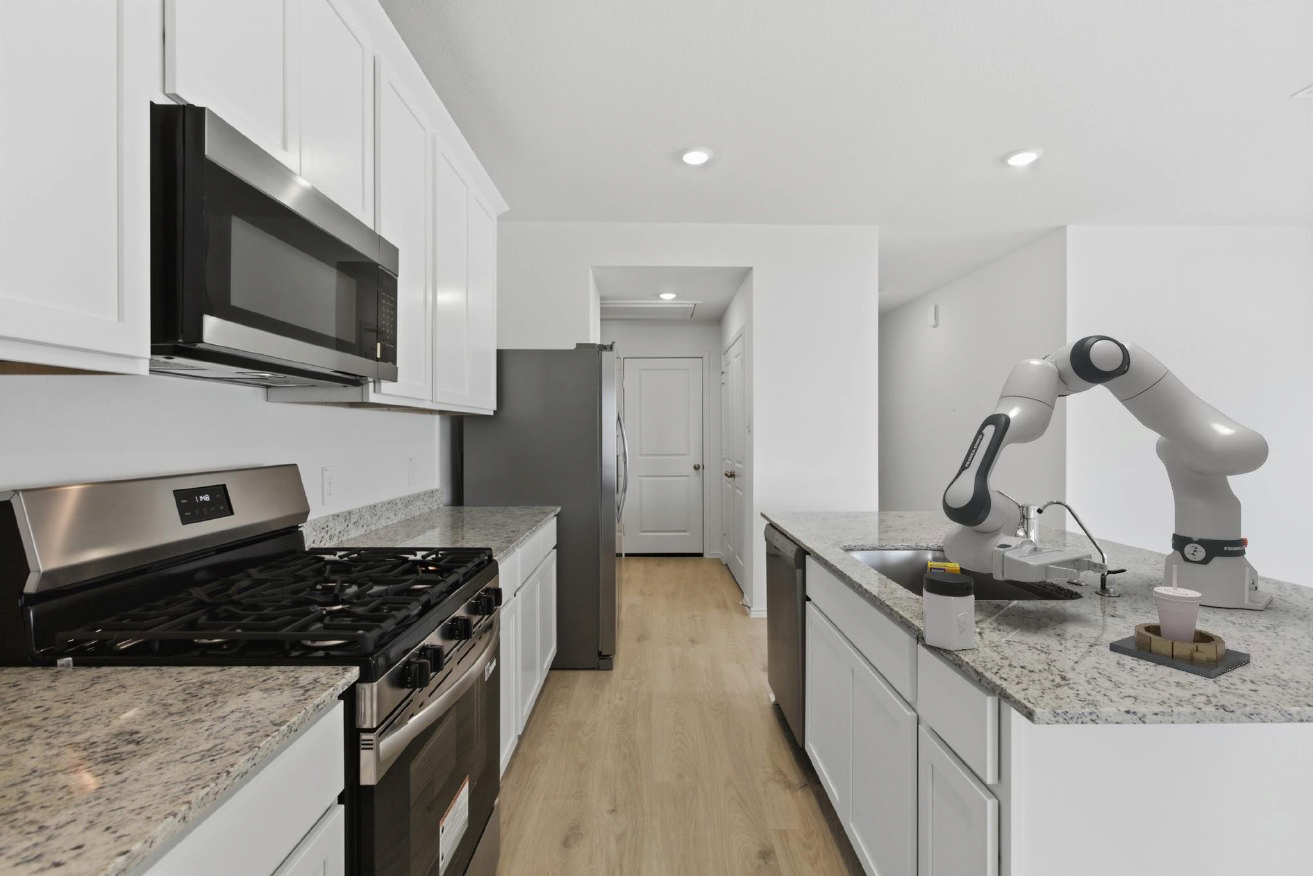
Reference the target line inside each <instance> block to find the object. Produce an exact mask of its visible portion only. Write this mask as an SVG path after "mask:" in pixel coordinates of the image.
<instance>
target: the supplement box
mask: <svg viewBox="0 0 1313 876" xmlns="http://www.w3.org/2000/svg"><path fill="white" fill-rule="evenodd" d="M926 563H927V564H926V565H927V572H926V573H928V572H953V573H960V574H961V569H960V568H961V567H959V565H958V563H952V562H943V561H932V560H927V562H926Z"/></svg>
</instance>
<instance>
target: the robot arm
mask: <svg viewBox="0 0 1313 876" xmlns="http://www.w3.org/2000/svg"><path fill="white" fill-rule="evenodd" d="M1099 385H1101V386H1103V387H1104V388H1106V389H1107V390H1108V391H1109V392H1110V393H1111V394H1112V396H1114V397H1115V398H1116V400H1118V402H1119V403H1120V404H1121V405H1122V406H1124V408H1125V409H1127V410H1128V411H1129V413H1130V414H1131V415H1133V417H1135V418H1136V420H1137V421H1138V422H1139V423H1140V424H1142V426H1143V427H1145V428H1147V429H1149V430H1150V431H1153V432H1155V433H1157V434H1158V435H1159V438H1158V439H1157V440H1156V443H1155V453H1156V455H1157V457H1158V459H1159V460H1160V461H1161V463H1163V465H1164V467H1165V469H1166V472H1167V475H1168V479H1169V483H1170V485H1171V486H1170V487H1171V490H1172V495H1173V499H1174V500H1173V503H1174V532H1173V533H1172V537H1171V548H1172V549H1173V550H1172V552H1171V553H1169V554H1167V555H1166V556H1164V564H1163V577H1162V584H1156V586H1155V588H1156V587H1173V565H1177V588H1183V589H1188V590H1193V591H1196V592H1199V593H1201V594H1202V601H1201V602H1200V603H1199V605H1202V606H1209V607H1217V608H1219V607H1220V608H1230V609H1248V610H1258V611H1261V610H1262V611H1263V610H1265V608H1266V607H1267V606H1268V605H1269V603H1270V602H1271V601H1272V600H1273V595H1272V593H1271V592H1270V593H1269V592H1266V591H1262V590H1259V572H1258V571H1257V569H1256V568H1255V567H1254V566H1253V565H1252V564H1251V562H1250V561H1249V560H1248V559H1247V557H1246V556H1245V555H1246V554H1247V553H1246V548H1247V547H1248V544H1249V541H1248V538H1247V537H1242V504H1241V503H1242V502H1241V501H1240V499H1239V498H1238V496H1236V494H1234V492H1233V489H1232V488H1231V486H1230V483H1229V481H1228V477H1231V476H1240V475H1244V474H1248V473H1252V472H1254V471H1256V470H1258V469H1260V468H1261V467H1262V466H1263V465H1265V463H1266V461H1267V460H1268V457H1269V451H1270V449H1269V444H1268V442H1267V440H1266V439H1265V437H1264V436H1263V435H1262V434H1261V433H1259V432H1258V431H1256V430H1255V429H1251V428H1249V427H1247V426H1245V425H1243V424H1241V423H1239V422H1237V421H1235V420H1234V419H1232V418H1231V417H1229V416H1228V415H1227V414H1225V413H1223V412H1222V411H1221V410H1219V409H1217V408H1216V407H1214V406H1212V405H1211V404H1210V403H1208V402H1206V401H1205V400H1203V399H1202V398H1200V397H1199V396H1198V395H1196V394H1195V393H1194V392H1193V391H1191V389H1190V388H1189V387H1188V386H1187V385H1185V384H1184V383H1183V382H1182V381H1181V380H1180V379H1179V378H1178V377H1177V376H1176V375H1175V374H1174V373H1173V372H1172V371H1171V370H1170V369H1169V368H1168V367H1167V366H1165V365H1164V364H1163V363H1162V362H1161V361H1160V360H1159V359H1158V358H1156V357H1155V356H1154V355H1153V354H1151V353H1150V352H1149V351H1147V350H1146V349H1144V348H1143V347H1142V346H1140V345H1138V344H1137V343H1134V342H1132V341H1126V340H1125V341H1119V340H1117V339H1115V338H1113V337H1110V336H1107V335H1104V334H1103V335H1101V334H1098V335H1096V334H1095V335H1089V336H1086V337H1082V338H1080V339H1078V340H1077V341H1073V342H1071V343H1068V344H1065V345H1064V346H1061V347H1060V348H1058V349H1057V350H1056V351H1054V352H1052V353H1051V354H1048V355H1045V356H1044V357H1042V358H1034V357H1033V358H1026V359H1022V360H1020V361H1019V362H1017V363H1016V364H1015V365H1014V366H1013V368H1012V370H1011V371H1010V373H1009V374H1008V377H1007V378H1006V381H1005V383H1004V385H1003V387H1002V389H1001V392H1000V393H999V398H998V400H997V404H996V406H995V408H994V411H993V413H991V414H990V415H988V416H987V417H985V419H984V420H983V421H982V422H981V424H980V426H979V427H978V429H977V431H976V433H975V434H974V438H973V439H972V441H971V443H970V446H969V448H968V450H967V453H966V455H965V457H964V458H963V460H962V462H961V466H960V467H959V469H958V471H957V473H956V474H955V476H954V477H953V478H952V480H951V481H950V483H949V484H948V485H947V487H946V489H945V490H944V493H943V495H942V503H941V505H942V509H943V513H944V514H945V516H946V517H947V518H948V519H949V520H950V521H952V522H954V523H956V524H958V525H956V526H955V527H954V528H953V529H951V530H949V531H947V532H946V534H944V537H943V542H942V546H943V547H942V548H943V552H944V554H945V556H946V558H947V559H948V561H949V562H950V563H958V565H959V568H963V569H965V570H969V571H971V572H972V571H973V572H976V573H982V574H992V577H993V580H997V581H1018V582H1024V583H1025V582H1026V583H1036V582H1037V583H1038V582H1042V581H1047V580H1051V579H1065V580H1067V579H1068V580H1072V581H1075V580H1078V579H1080V578H1081V575H1080V574H1081V573H1084V572H1089V571H1090V572H1093V573H1097V574H1101V575H1102V574H1106V573H1108V565H1107V564H1106V563H1104V562H1099V561H1096V560H1094V559H1093V556H1092V553H1090V552H1088V551H1084V550H1075V549H1067V548H1057V547H1053V548H1046V549H1041V548H1040V547H1039V546H1038V545H1037V544H1036V542H1035V541H1034V540H1033V539H1030V538H1027V537H1026V538H1025V537H1019V536H1016V535H1017V533H1018V530H1019V527H1020V525H1021V522H1022V513H1021V509H1020V507H1019V506H1018V504H1017V503H1016V502H1015V501H1013V499H1010V498H1009V497H1007V496H1005V495H1004V494H1002V493H1000V492H998V491H996V490H994V489H992V488H991V485H990V480H991V479H990V478H991V476H992V473H993V471H994V469H995V466H996V465H997V464H998V463H997V462H998V460H999V458H1000V456H1001V454H1002V452H1003V450H1004V449H1005V448H1006V447H1007V446H1008V445H1011V444H1027V443H1030V442H1034V441H1036V440H1039V438H1042V437H1043V436H1044V435H1045V433H1046V431H1047V429H1048V428H1049V426H1050V423H1051V420H1052V417H1053V413H1054V411H1055V407H1056V402H1057V400H1058V398H1063V397H1064V398H1065V397H1067V396H1068V397H1069V396H1070V395H1074V394H1079V393H1082V392H1085V391H1089V390H1090V389H1092V388H1095V387H1096V386H1099Z"/></svg>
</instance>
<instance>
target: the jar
mask: <svg viewBox="0 0 1313 876" xmlns="http://www.w3.org/2000/svg"><path fill="white" fill-rule="evenodd" d="M974 584H975V583H974V579H973V577H971V576H970V575H967V574H964V573H961V572H960V573H953V572H928V573H927V572H925V573H924V574H923V587H922V590H923V591H922V621H923V622H922V623H923V624H922V637H923V639H924V642H925V644H926V645H928V646H930V647H935V648H939V649H943V650H947V651H951V652H953V651H954V652H955V650H956V651H963V650H962V649H966V650H972V649H973V650H974V649H975V602H976V601H975V595H974V589H975V585H974Z"/></svg>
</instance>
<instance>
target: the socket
mask: <svg viewBox="0 0 1313 876" xmlns="http://www.w3.org/2000/svg"><path fill="white" fill-rule="evenodd" d="M1108 647H1109V649H1108V650H1109V651H1113V652H1116V653H1120V654H1123V655H1126V656H1130V657H1134V658H1138V659H1140V660H1144V661H1146V662H1147V661H1148V662H1152V663H1155V664H1159V665H1162V666H1165V665H1167V666H1166V667H1169V668H1172V667H1173V668H1172V669H1177V670H1179V669H1180V671H1183V670H1184V671H1183V672H1187V673H1190V672H1192V673H1191V674H1194V673H1196V674H1195V675H1197V674H1201V675H1204V676H1208V677H1211V678H1210V679H1213V678H1214V677H1213V676H1216V677H1218V676H1219V675H1218V674H1220V675H1222V674H1221V673H1222V672H1225V671H1227V670H1229V669H1232V668H1234V667H1237V666H1239V665H1241V664H1243V663H1246V662H1248V661H1250V662H1251V654H1250V653H1247V652H1242V651H1238V650H1233V649H1229V648H1226V641H1225V640H1224V639H1223V638H1222V637H1221V636H1218V635H1217V634H1213V633H1211V632H1209V631H1206V630H1202V629H1197V628H1195V633H1194V639H1193V643H1189V642H1182V641H1174V640H1170V639H1166V638H1162V636H1161V629H1160V623H1159V622H1144V623H1143V622H1142V623H1139V624H1135V625H1134V634H1133V635H1130V636H1127V637H1124V638H1121V639H1118V640H1115V641H1111V642H1109V646H1108ZM1248 663H1249V662H1248ZM1246 664H1247V663H1246ZM1243 665H1244V664H1243ZM1241 666H1242V665H1241ZM1239 667H1240V666H1239ZM1237 668H1238V667H1237ZM1234 669H1235V668H1234ZM1232 670H1233V669H1232ZM1227 672H1228V671H1227ZM1225 673H1226V672H1225ZM1201 675H1200V676H1201ZM1217 675H1218V676H1217ZM1204 676H1203V677H1204ZM1208 677H1207V678H1208ZM1212 677H1213V678H1212Z"/></svg>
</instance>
